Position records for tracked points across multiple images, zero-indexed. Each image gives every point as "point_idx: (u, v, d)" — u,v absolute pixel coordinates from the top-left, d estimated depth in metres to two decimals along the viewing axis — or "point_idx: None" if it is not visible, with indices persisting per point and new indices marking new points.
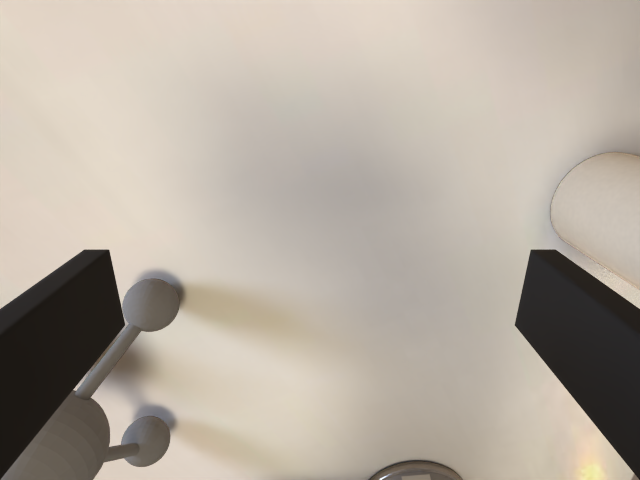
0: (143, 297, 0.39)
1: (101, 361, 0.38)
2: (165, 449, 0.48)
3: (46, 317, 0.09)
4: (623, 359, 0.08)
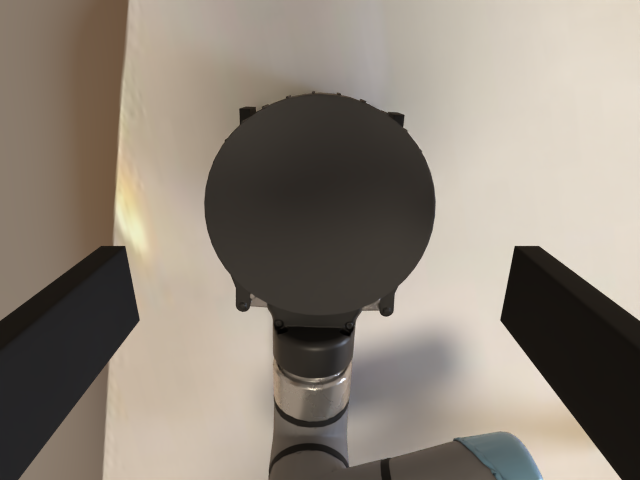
0: None
1: None
2: None
3: (68, 310, 0.10)
4: (597, 350, 0.09)
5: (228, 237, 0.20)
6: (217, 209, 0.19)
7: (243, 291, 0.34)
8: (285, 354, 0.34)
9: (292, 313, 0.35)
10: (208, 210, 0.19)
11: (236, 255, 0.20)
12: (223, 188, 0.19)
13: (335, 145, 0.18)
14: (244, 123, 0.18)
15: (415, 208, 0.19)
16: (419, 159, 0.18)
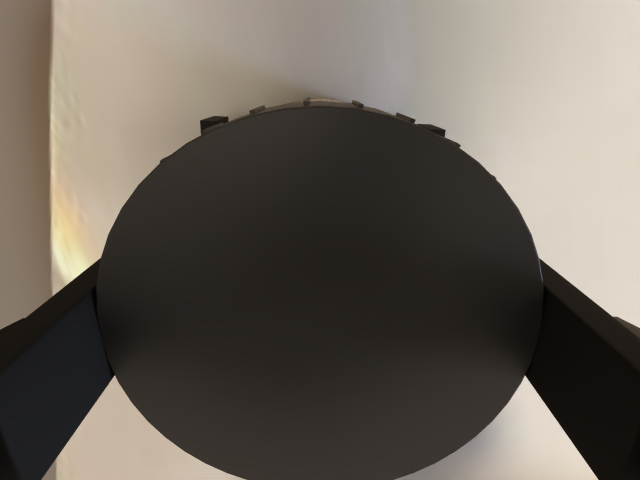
0: None
1: None
2: None
3: (95, 303, 0.10)
4: (567, 341, 0.09)
5: (148, 372, 0.11)
6: (122, 325, 0.10)
7: None
8: None
9: None
10: (106, 326, 0.10)
11: (165, 400, 0.11)
12: (130, 289, 0.10)
13: (352, 209, 0.09)
14: (162, 166, 0.09)
15: (503, 323, 0.10)
16: (520, 236, 0.09)
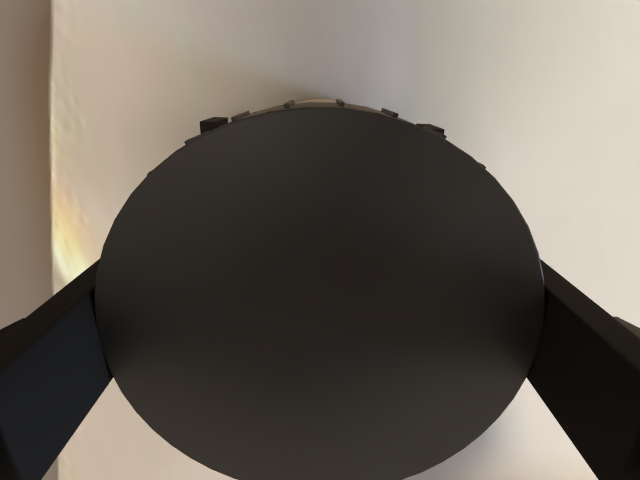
0: None
1: None
2: None
3: None
4: (567, 341, 0.09)
5: (383, 462, 0.12)
6: (337, 478, 0.12)
7: None
8: None
9: None
10: None
11: (416, 449, 0.12)
12: (300, 473, 0.12)
13: (181, 335, 0.10)
14: (192, 456, 0.12)
15: (262, 163, 0.08)
16: (156, 183, 0.09)
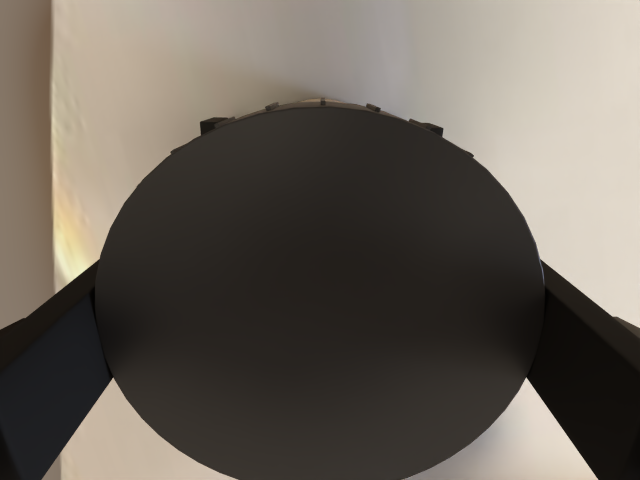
0: None
1: None
2: None
3: None
4: (567, 341, 0.09)
5: (489, 244, 0.09)
6: (518, 291, 0.10)
7: None
8: None
9: None
10: (536, 283, 0.10)
11: (466, 210, 0.09)
12: (510, 331, 0.10)
13: (337, 441, 0.11)
14: (486, 426, 0.11)
15: (166, 401, 0.11)
16: (205, 458, 0.12)
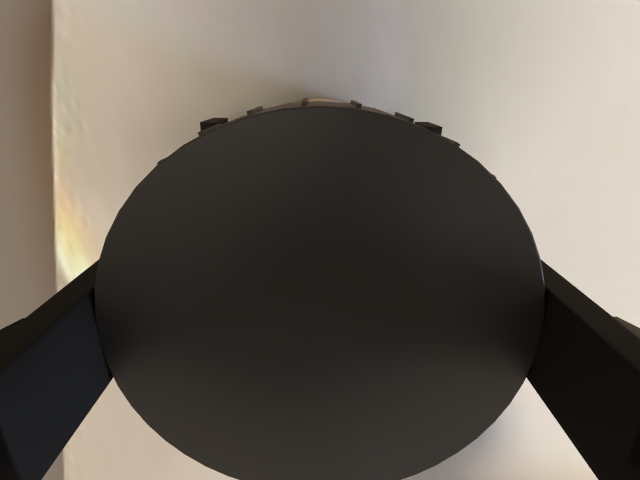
0: None
1: None
2: None
3: None
4: (567, 341, 0.09)
5: (173, 212, 0.09)
6: (216, 163, 0.08)
7: None
8: None
9: None
10: (201, 145, 0.08)
11: (148, 244, 0.09)
12: (267, 154, 0.08)
13: (456, 301, 0.10)
14: (419, 130, 0.08)
15: (413, 448, 0.11)
16: (489, 416, 0.11)
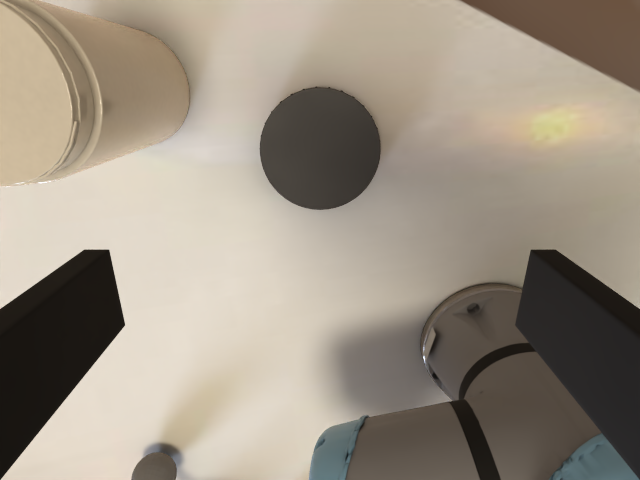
0: None
1: None
2: None
3: (46, 317, 0.09)
4: (623, 359, 0.08)
5: (284, 114, 0.36)
6: (295, 101, 0.35)
7: None
8: None
9: None
10: (292, 97, 0.35)
11: (276, 123, 0.36)
12: (307, 99, 0.35)
13: (356, 139, 0.37)
14: (343, 93, 0.35)
15: (348, 191, 0.39)
16: (369, 179, 0.38)
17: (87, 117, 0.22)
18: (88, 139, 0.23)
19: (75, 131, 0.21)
